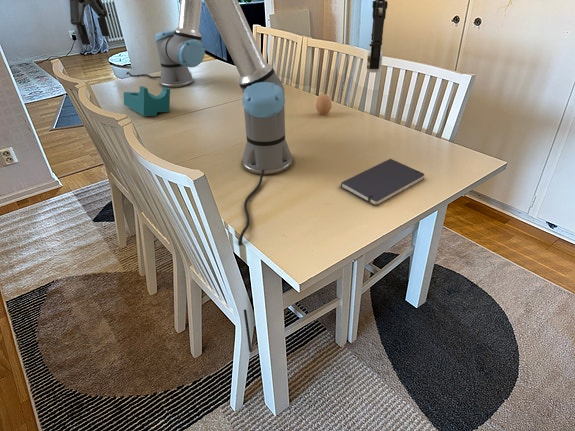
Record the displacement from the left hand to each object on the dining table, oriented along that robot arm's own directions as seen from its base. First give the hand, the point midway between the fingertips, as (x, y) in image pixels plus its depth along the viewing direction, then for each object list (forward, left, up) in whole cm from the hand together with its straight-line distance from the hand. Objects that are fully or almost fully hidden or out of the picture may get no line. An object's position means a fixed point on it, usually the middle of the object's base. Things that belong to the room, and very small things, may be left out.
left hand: (96, 40), depth 151 cm
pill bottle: (+102, +18, -4) cm, 104 cm away
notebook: (+116, -6, -27) cm, 119 cm away
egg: (+79, +33, -27) cm, 90 cm away
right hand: (+102, +18, -2) cm, 104 cm away
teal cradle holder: (+12, +7, -27) cm, 30 cm away
